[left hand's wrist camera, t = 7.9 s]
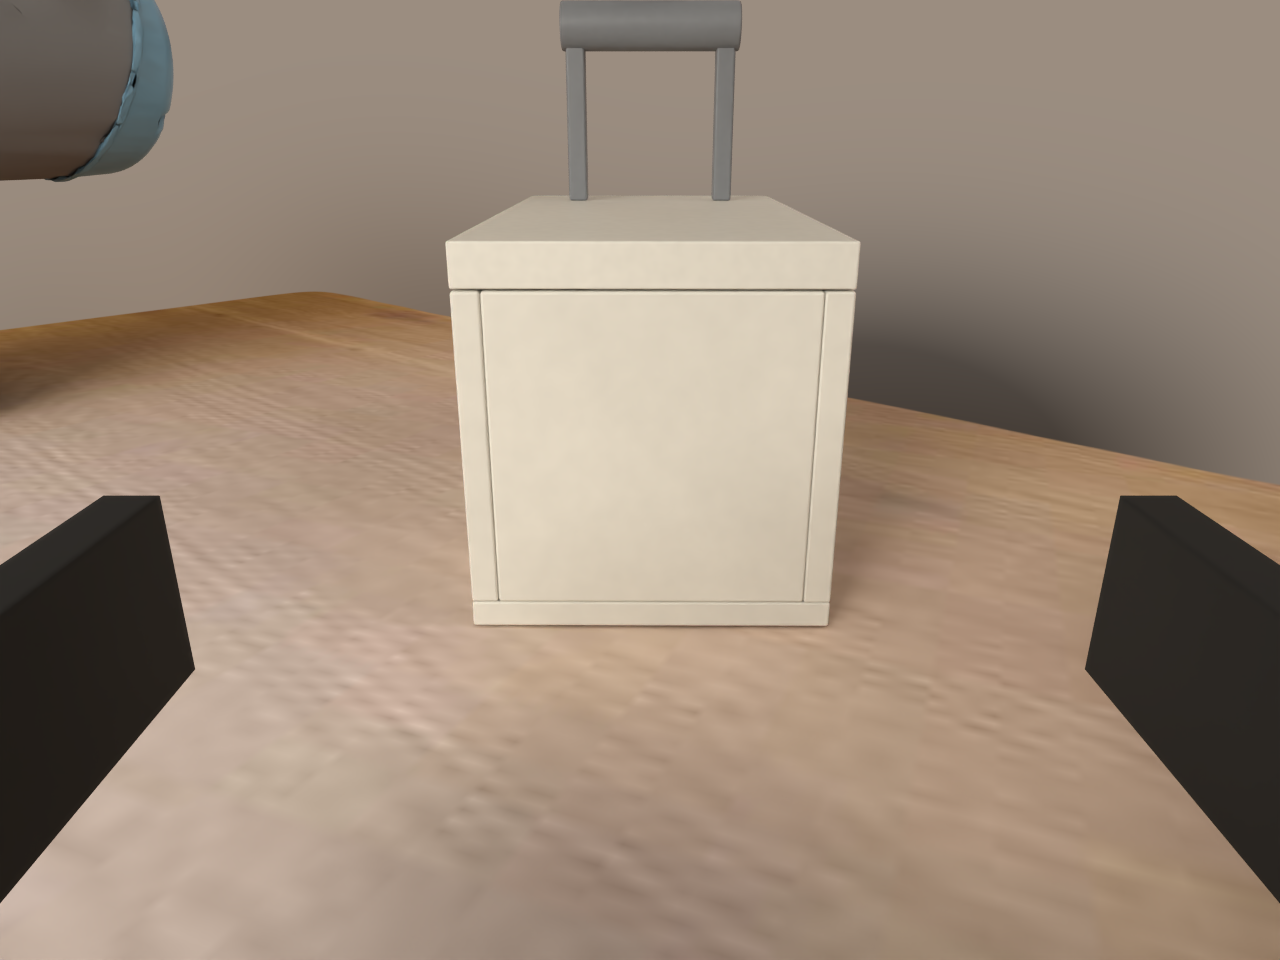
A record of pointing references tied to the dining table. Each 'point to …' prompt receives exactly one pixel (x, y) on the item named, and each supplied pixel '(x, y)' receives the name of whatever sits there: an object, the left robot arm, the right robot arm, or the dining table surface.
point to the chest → (652, 453)
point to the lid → (651, 225)
